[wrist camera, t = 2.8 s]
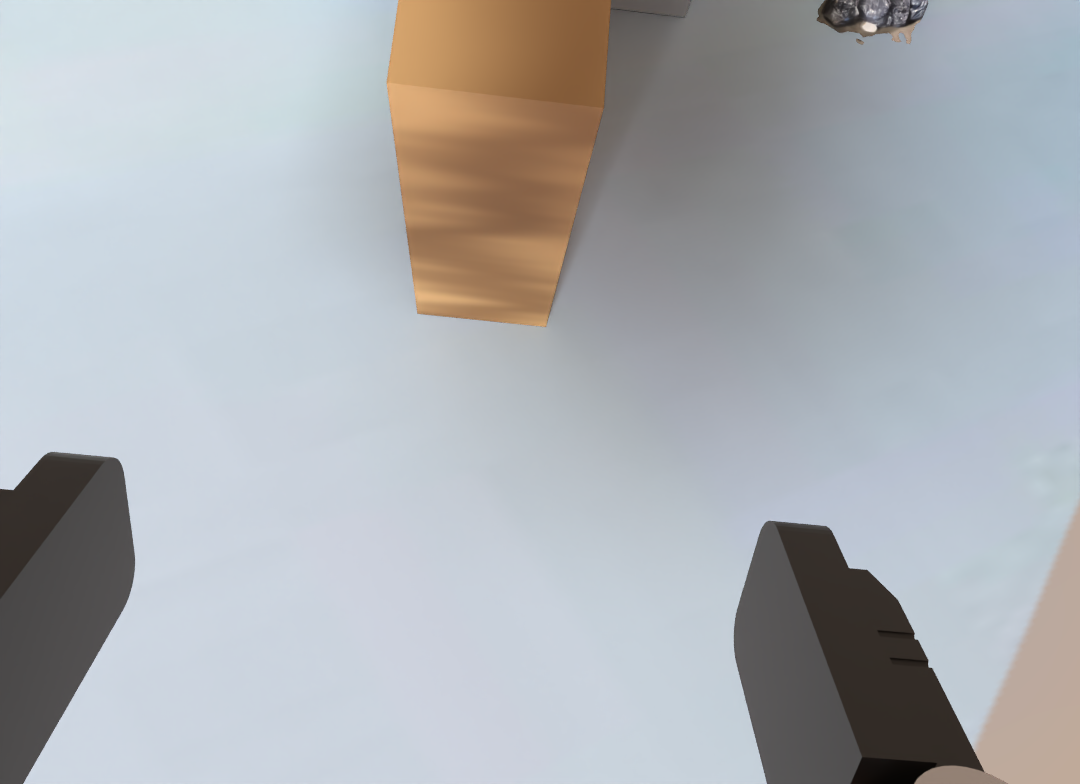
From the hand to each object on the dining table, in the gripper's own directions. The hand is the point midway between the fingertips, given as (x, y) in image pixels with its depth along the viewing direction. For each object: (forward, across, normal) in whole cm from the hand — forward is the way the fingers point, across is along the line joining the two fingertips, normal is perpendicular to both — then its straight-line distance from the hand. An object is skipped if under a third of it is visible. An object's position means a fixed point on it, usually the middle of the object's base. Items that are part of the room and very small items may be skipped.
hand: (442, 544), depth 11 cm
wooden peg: (+18, 0, +3) cm, 18 cm away
